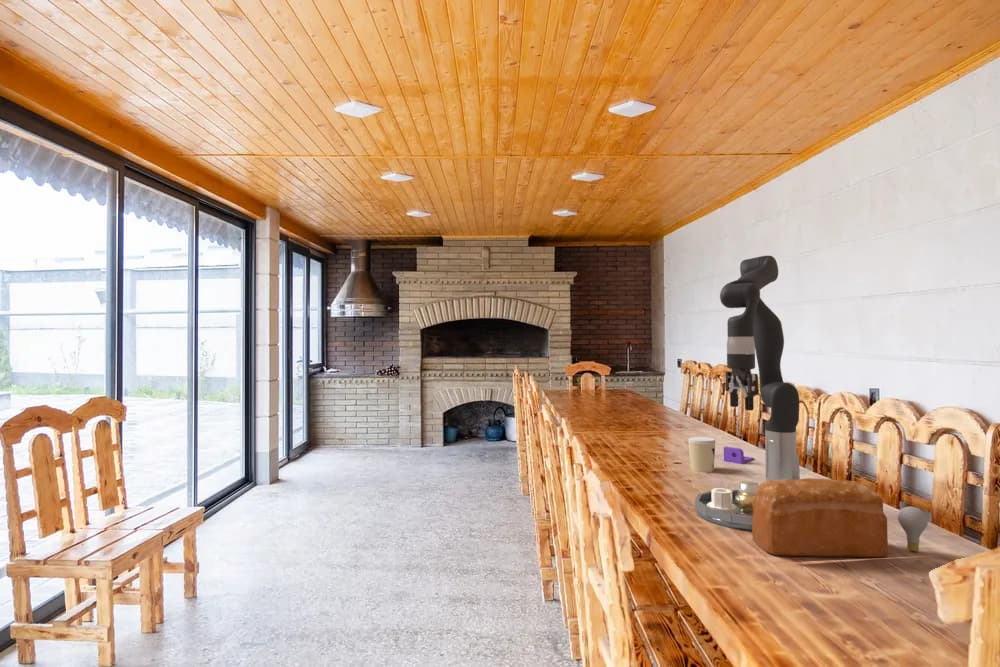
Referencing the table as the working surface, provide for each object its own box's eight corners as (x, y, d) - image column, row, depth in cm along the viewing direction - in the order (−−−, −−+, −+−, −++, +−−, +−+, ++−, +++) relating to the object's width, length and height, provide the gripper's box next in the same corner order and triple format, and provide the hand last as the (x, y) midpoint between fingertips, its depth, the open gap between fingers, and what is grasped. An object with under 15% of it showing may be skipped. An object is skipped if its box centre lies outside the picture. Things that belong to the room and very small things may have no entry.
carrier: (768, 500, 171) (768, 476, 171) (828, 530, 144) (827, 502, 144) (680, 503, 168) (680, 479, 168) (724, 534, 141) (724, 505, 141)
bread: (747, 537, 139) (746, 472, 140) (858, 538, 138) (857, 473, 138) (770, 558, 126) (770, 487, 126) (894, 560, 124) (893, 488, 124)
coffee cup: (719, 474, 203) (719, 441, 203) (693, 475, 203) (693, 441, 203) (710, 469, 212) (710, 436, 212) (685, 469, 212) (684, 436, 212)
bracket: (741, 467, 215) (741, 449, 215) (723, 465, 220) (723, 447, 220) (755, 463, 223) (755, 445, 223) (738, 460, 228) (738, 443, 228)
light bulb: (929, 557, 125) (928, 511, 125) (899, 552, 128) (898, 508, 128) (927, 549, 130) (926, 505, 130) (897, 545, 133) (897, 502, 133)
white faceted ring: (703, 507, 159) (703, 487, 159) (728, 506, 159) (728, 486, 159) (715, 515, 151) (715, 494, 151) (741, 514, 152) (741, 493, 152)
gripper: (716, 352, 172) (717, 406, 172) (740, 353, 158) (741, 411, 158) (740, 351, 173) (741, 405, 173) (766, 352, 159) (767, 411, 159)
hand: (741, 408), depth 165 cm, fingers open, 8 cm apart
